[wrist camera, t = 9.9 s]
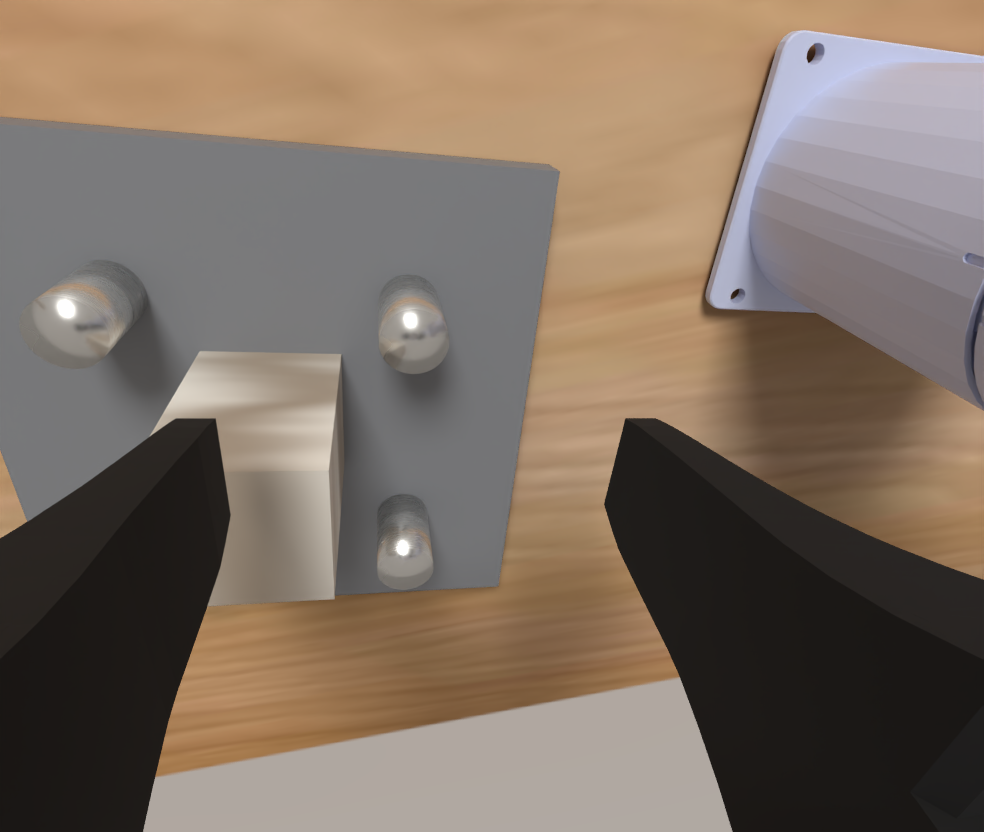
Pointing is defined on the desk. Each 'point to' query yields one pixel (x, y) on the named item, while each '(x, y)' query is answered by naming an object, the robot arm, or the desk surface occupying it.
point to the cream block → (273, 469)
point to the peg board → (279, 317)
